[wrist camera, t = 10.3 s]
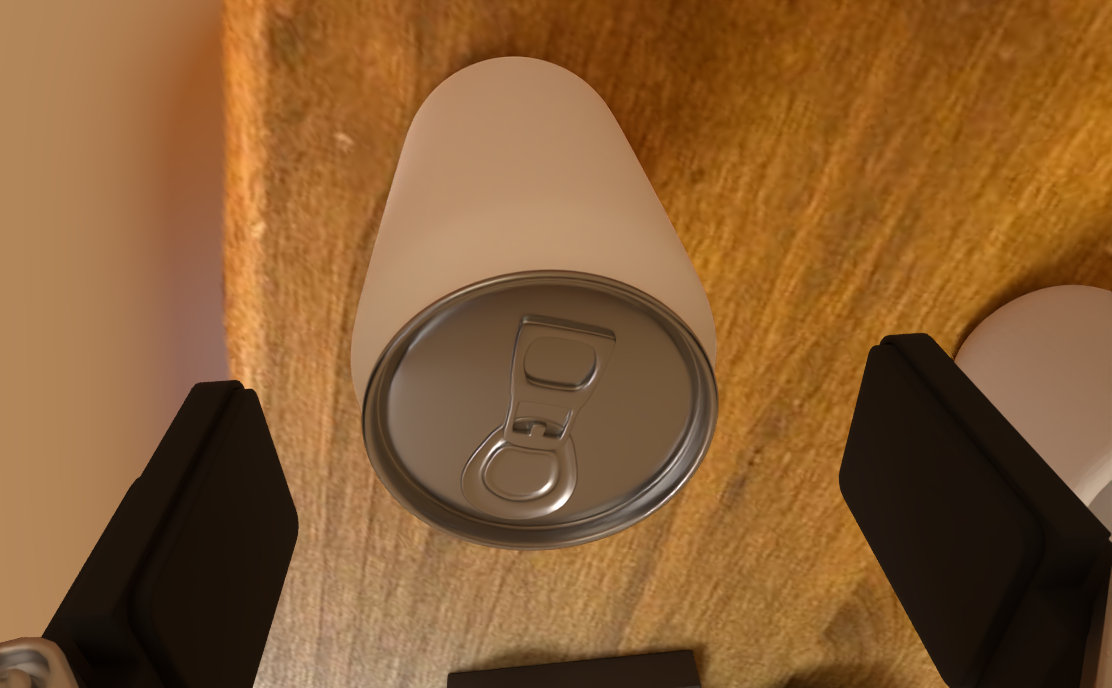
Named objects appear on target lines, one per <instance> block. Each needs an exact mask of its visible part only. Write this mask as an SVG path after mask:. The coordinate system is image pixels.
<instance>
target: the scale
mask: <svg viewBox="0 0 1112 688" xmlns="http://www.w3.org/2000/svg"><path fill="white" fill-rule="evenodd" d="M447 688H701V682H700V679H699V675H698V671H697V667H696V664H695V660H694V656H693V652H692V650H688V651H678V652H668V653H658V654H648V655H638V656H628V657H618V658H608V659H597V660H587V661H577V662H567V663H557V664H547V665H537V666H527V667H517V668H507V669H497V670H487V671H477V672H467V673H457V674H448V678H447Z"/></svg>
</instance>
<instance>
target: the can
mask: <svg viewBox="0 0 1112 688" xmlns="http://www.w3.org/2000/svg"><path fill="white" fill-rule="evenodd" d="M716 354H717V340H716V330H715V324H714V319H713V315H712V312H711V308H710V305H709V301H708V298H707V296H706V293H705V291H704V288H703V286H702V284H701V282H700V279H699V277H698V275H697V273H696V271H695V269H694V267H693V265H692V263H691V261H690V259H689V257H688V255H687V253H686V251H685V249H684V247H683V245H682V243H681V241H680V239H679V237H678V235H677V233H676V231H675V229H674V227H673V225H672V223H671V222H670V220H669V218H668V216H667V214H666V212H665V210H664V208H663V206H662V204H661V202H660V201H659V199H658V197H657V195H656V193H655V191H654V189H653V187H652V185H651V183H650V182H649V180H648V178H647V176H646V174H645V172H644V170H643V168H642V166H641V165H640V163H639V161H638V159H637V157H636V155H635V153H634V152H633V150H632V148H631V146H630V144H629V142H628V140H627V139H626V137H625V135H624V133H623V131H622V129H621V128H620V126H619V124H618V122H617V121H616V119H615V117H614V115H613V114H612V112H611V111H610V109H609V107H608V106H607V105H606V103H605V102H604V100H603V99H602V98H601V97H600V96H599V95H598V93H597V92H596V91H595V90H594V89H593V88H592V87H591V86H590V85H588V84H587V83H586V82H585V81H584V80H582V79H581V78H580V77H578V76H577V75H575V74H574V73H572V72H570V71H569V70H567V69H565V68H563V67H561V66H558V65H556V64H553V63H550V62H547V61H544V60H540V59H535V58H528V57H500V58H493V59H488V60H484V61H481V62H478V63H475V64H472V65H470V66H468V67H465V68H463V69H461V70H460V71H458V72H456V73H454V74H453V75H451V76H450V77H448V78H447V79H446V80H444V81H443V82H442V83H441V84H440V85H439V86H438V87H436V88H435V89H434V90H433V92H432V93H431V94H430V95H429V96H428V97H427V98H426V100H425V101H424V102H423V104H422V105H421V107H420V108H419V110H418V112H417V113H416V115H415V117H414V119H413V121H412V123H411V126H410V128H409V131H408V134H407V137H406V140H405V143H404V146H403V149H402V152H401V156H400V159H399V162H398V166H397V169H396V173H395V176H394V179H393V183H392V186H391V190H390V193H389V197H388V200H387V204H386V207H385V211H384V214H383V218H382V221H381V225H380V228H379V232H378V235H377V239H376V243H375V246H374V250H373V253H372V257H371V261H370V264H369V268H368V271H367V275H366V279H365V282H364V286H363V290H362V294H361V298H360V301H359V305H358V310H357V314H356V319H355V323H354V328H353V334H352V345H351V374H352V381H353V386H354V390H355V394H356V397H357V400H358V403H359V406H360V409H361V411H362V413H361V424H362V434H363V440H364V445H365V448H366V452H367V455H368V457H369V460H370V462H371V465H372V467H373V469H374V471H375V472H376V474H377V476H378V478H379V479H380V481H381V482H382V484H383V485H384V486H385V488H386V489H387V490H388V492H389V493H390V494H391V495H392V496H393V497H394V498H395V499H396V500H397V501H398V502H399V503H400V504H401V505H402V506H403V507H404V508H405V509H406V510H408V511H409V512H410V513H411V514H413V515H414V516H415V517H417V518H418V519H420V520H421V521H423V522H425V523H426V524H428V525H430V526H431V527H433V528H435V529H437V530H439V531H441V532H443V533H445V534H448V535H450V536H453V537H455V538H458V539H461V540H464V541H467V542H470V543H474V544H478V545H482V546H487V547H492V548H499V549H507V550H522V551H537V550H552V549H561V548H567V547H573V546H578V545H582V544H586V543H590V542H594V541H597V540H600V539H603V538H606V537H609V536H611V535H614V534H617V533H619V532H621V531H623V530H625V529H628V528H630V527H632V526H634V525H635V524H637V523H639V522H641V521H643V520H644V519H646V518H647V517H649V516H650V515H652V514H653V513H655V512H656V511H658V510H659V509H660V508H662V507H663V506H664V505H665V504H667V503H668V502H669V501H670V500H671V499H672V498H673V497H675V496H676V495H677V494H678V493H679V492H680V491H681V490H682V489H683V487H684V486H685V485H686V484H687V483H688V482H689V480H690V479H691V478H692V477H693V475H694V474H695V472H696V471H697V469H698V468H699V466H700V465H701V463H702V461H703V459H704V458H705V456H706V454H707V451H708V449H709V447H710V444H711V442H712V439H713V436H714V432H715V428H716V424H717V417H718V403H719V402H718V388H717V382H716V377H715V365H716Z"/></svg>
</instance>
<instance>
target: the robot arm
mask: <svg viewBox="0 0 1112 688" xmlns="http://www.w3.org/2000/svg"><path fill="white" fill-rule="evenodd" d="M839 485H840V490H841V493H842V495H843V498H844V500H845V501H846V503H847V505H848V507H849V509H850V511H851V512H852V514H853V516H854V518H855V520H856V522H857V523H858V525H859V527H860V529H861V531H862V533H863V534H864V536H865V538H866V540H867V542H868V544H869V545H870V547H871V549H872V551H873V553H874V555H875V556H876V558H877V560H878V562H879V564H880V566H881V567H882V569H883V571H884V573H885V575H886V577H887V578H888V580H889V582H890V584H891V586H892V587H893V589H894V591H895V593H896V595H897V597H898V598H899V600H900V602H901V604H902V606H903V608H904V609H905V611H906V613H907V615H908V617H909V619H910V620H911V622H912V624H913V626H914V628H915V630H916V631H917V633H918V635H919V637H920V639H921V641H922V642H923V644H924V646H925V648H926V650H927V652H928V653H929V655H930V657H931V659H932V661H933V663H934V664H935V666H936V668H937V670H938V672H939V674H940V675H941V677H942V679H943V680H944V682H945V683H946V684H947V685H948V686H949V687H950V688H1112V542H1111V541H1110V540H1109V538H1110V536H1111V532H1110V531H1109V530H1108V529H1107V528H1106V527H1105V526H1104V525H1103V524H1102V523H1101V522H1100V520H1099V519H1098V518H1097V517H1096V516H1095V515H1094V514H1093V513H1092V512H1091V511H1090V510H1089V508H1088V507H1087V506H1086V505H1085V504H1084V503H1083V502H1082V501H1081V500H1080V499H1079V498H1078V496H1077V495H1076V494H1075V493H1074V492H1073V491H1072V490H1071V489H1070V488H1069V487H1068V486H1067V484H1066V483H1065V482H1064V481H1063V480H1062V479H1061V478H1060V477H1059V476H1058V475H1057V474H1056V472H1055V471H1054V470H1053V469H1052V468H1051V467H1050V466H1049V465H1048V464H1047V463H1046V462H1045V460H1044V459H1043V458H1042V457H1041V456H1040V455H1039V454H1038V453H1037V452H1036V451H1035V450H1034V448H1033V447H1032V446H1031V445H1030V444H1029V443H1028V442H1027V441H1026V440H1025V439H1024V438H1023V436H1022V435H1021V434H1020V433H1019V432H1018V431H1017V430H1016V429H1015V428H1014V427H1013V426H1012V424H1011V423H1010V422H1009V421H1008V420H1007V419H1006V418H1005V417H1004V416H1003V415H1002V414H1001V413H1000V411H999V410H998V409H997V408H996V407H995V406H994V405H993V404H992V403H991V402H990V401H989V399H988V398H987V397H986V396H985V395H984V394H983V393H982V392H981V391H980V390H979V389H978V387H977V386H976V385H975V384H974V383H973V382H972V381H971V380H970V379H969V378H968V377H967V375H966V374H965V373H964V372H963V371H962V370H961V369H960V368H959V367H958V366H957V365H956V363H955V362H954V361H953V360H952V359H951V358H950V357H949V356H948V355H947V354H946V353H945V351H944V350H943V349H942V348H941V347H940V346H939V345H938V344H937V343H936V342H935V341H934V339H933V338H932V337H930V336H929V335H928V334H925V333H913V334H899V335H888V336H885V337H884V338H883V339H882V340H881V342H880V345H875V346H873V347H872V348H871V349H870V352H869V354H868V358H867V362H866V366H865V370H864V374H863V379H862V383H861V387H860V391H859V395H858V399H857V403H856V407H855V411H854V415H853V419H852V423H851V427H850V431H849V435H848V439H847V443H846V447H845V451H844V456H843V460H842V464H841V468H840V472H839ZM298 529H299V522H298V515H297V512H296V509H295V506H294V503H293V500H292V497H291V494H290V491H289V488H288V485H287V482H286V479H285V476H284V473H283V470H282V467H281V464H280V461H279V458H278V455H277V452H276V449H275V446H274V443H273V440H272V437H271V434H270V432H269V429H268V426H267V423H266V420H265V417H264V414H263V411H262V408H261V405H260V402H259V399H258V396H257V394H256V392H255V391H254V390H253V389H244V386H243V385H242V384H241V382H240V381H237V380H230V381H215V382H200V383H197V384H195V385H194V387H193V388H192V389H191V391H190V393H189V394H188V396H187V398H186V399H185V401H184V403H183V405H182V406H181V408H180V410H179V411H178V413H177V415H176V417H175V418H174V420H173V422H172V423H171V425H170V427H169V429H168V430H167V432H166V434H165V436H164V437H163V439H162V440H161V442H160V444H159V446H158V447H157V449H156V451H155V452H154V454H153V456H152V458H151V459H150V461H149V463H148V464H147V466H146V468H145V470H144V471H143V473H142V475H141V476H140V477H139V478H137V479H136V480H135V482H134V483H133V484H132V485H131V487H130V488H129V490H128V491H127V493H126V495H125V497H124V498H123V500H122V501H121V503H120V505H119V507H118V508H117V510H116V512H115V514H114V515H113V517H112V518H111V520H110V522H109V523H108V525H107V527H106V529H105V530H104V532H103V534H102V535H101V537H100V539H99V540H98V542H97V544H96V545H95V547H94V549H93V550H92V552H91V554H90V556H89V557H88V559H87V561H86V562H85V564H84V566H83V567H82V569H81V571H80V572H79V574H78V576H77V577H76V579H75V581H74V583H73V584H72V586H71V588H70V589H69V591H68V593H67V594H66V596H65V598H64V600H63V601H62V603H61V604H60V606H59V608H58V610H57V611H56V613H55V615H54V616H53V618H52V620H51V621H50V623H49V625H48V627H47V628H46V630H45V632H44V633H43V635H42V637H30V638H28V637H24V638H23V637H22V638H18V639H14V640H10V641H6V642H2V643H0V688H253V684H254V681H255V678H256V674H257V671H258V668H259V664H260V661H261V658H262V654H263V651H264V648H265V644H266V641H267V638H268V634H269V631H270V628H271V624H272V621H273V618H274V614H275V611H276V608H277V604H278V601H279V597H280V594H281V591H282V587H283V584H284V581H285V577H286V574H287V571H288V567H289V564H290V561H291V557H292V554H293V551H294V547H295V544H296V541H297V536H298Z"/></svg>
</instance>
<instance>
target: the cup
mask: <svg viewBox="0 0 1112 688" xmlns="http://www.w3.org/2000/svg"><path fill="white" fill-rule="evenodd" d="M954 362H955V363H956V365H957V366H958V367H959V368H960V369H961V370H962V371H963V372H964V373H965V374H966V375H967V377H968V378H969V379H970V380H971V381H972V382H973V383H974V384H975V385H976V386H977V387H978V389H979V390H980V391H981V392H982V393H983V394H984V395H985V396H986V397H987V398H988V399H989V401H990V402H991V403H992V404H993V405H994V406H995V407H996V408H997V409H998V410H999V411H1000V413H1001V414H1002V415H1003V416H1004V417H1005V418H1006V419H1007V420H1008V421H1009V422H1010V423H1011V424H1012V426H1013V427H1014V428H1015V429H1016V430H1017V431H1018V432H1019V433H1020V434H1021V435H1022V436H1023V438H1024V439H1025V440H1026V441H1027V442H1028V443H1029V444H1030V445H1031V446H1032V447H1033V448H1034V450H1035V451H1036V452H1037V453H1038V454H1039V455H1040V456H1041V457H1042V458H1043V459H1044V460H1045V462H1046V463H1047V464H1048V465H1049V466H1050V467H1051V468H1052V469H1053V470H1054V471H1055V472H1056V474H1057V475H1058V476H1059V477H1060V478H1061V479H1062V480H1063V481H1064V482H1065V483H1066V484H1067V486H1068V487H1069V488H1070V489H1071V490H1072V491H1073V492H1074V493H1075V494H1076V495H1077V496H1078V498H1079V499H1080V500H1081V501H1082V502H1083V503H1084V504H1085V505H1086V506H1087V507H1088V508H1089V510H1090V511H1091V512H1092V513H1093V514H1094V515H1095V516H1096V517H1097V518H1098V519H1099V520H1100V522H1101V523H1102V524H1103V525H1104V526H1105V527H1106V528H1107V529H1108V530H1109V531H1110V532H1111V536H1110V538H1109V540H1110V541H1111V542H1112V291H1109V290H1106V289H1101V288H1097V287H1092V286H1085V285H1060V286H1053V287H1048V288H1043V289H1040V290H1036V291H1033V292H1031V293H1028V294H1026V295H1023V296H1021V297H1018V298H1016V299H1014V300H1012V301H1011V302H1009V303H1007V304H1005V305H1003V306H1002V307H1000V308H999V309H997V310H996V311H995V312H993V313H992V314H991V315H989V316H988V317H987V318H985V319H984V320H983V321H982V322H981V323H980V324H979V325H978V326H977V327H976V328H975V329H974V330H973V331H972V333H971V334H970V335H969V336H968V338H967V339H966V340H965V342H964V343H963V345H962V346H961V348H960V350H959V351H958V354H957V356H956V358H955V361H954Z"/></svg>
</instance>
